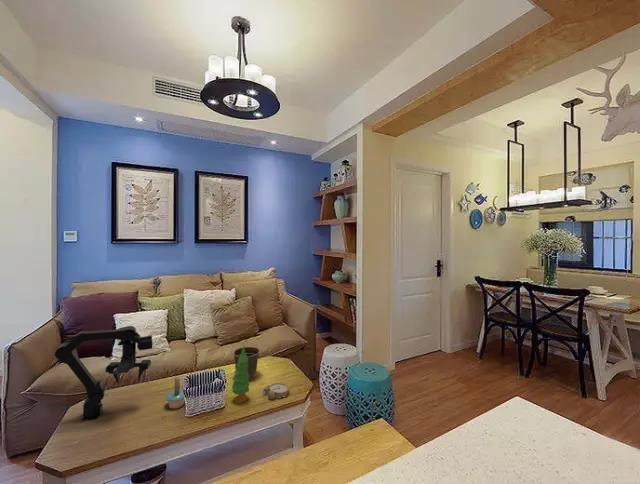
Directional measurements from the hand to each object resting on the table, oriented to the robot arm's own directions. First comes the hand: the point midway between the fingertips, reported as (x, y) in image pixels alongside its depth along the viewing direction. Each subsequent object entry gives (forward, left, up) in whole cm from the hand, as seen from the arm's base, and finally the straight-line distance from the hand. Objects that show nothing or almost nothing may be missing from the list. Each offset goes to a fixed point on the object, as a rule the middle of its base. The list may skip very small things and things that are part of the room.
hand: (128, 382), depth 145 cm
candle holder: (+74, -3, -14) cm, 76 cm away
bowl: (+23, -2, -13) cm, 27 cm away
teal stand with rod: (+23, -2, -9) cm, 25 cm away
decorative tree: (+55, -4, -13) cm, 57 cm away
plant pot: (+58, +21, -13) cm, 63 cm away
